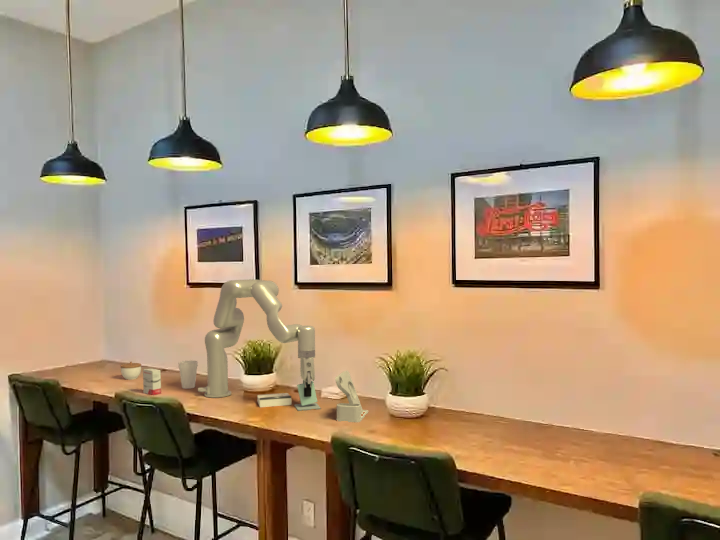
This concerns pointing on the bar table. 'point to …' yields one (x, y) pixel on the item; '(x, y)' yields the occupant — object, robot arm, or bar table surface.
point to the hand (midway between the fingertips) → (307, 395)
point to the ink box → (152, 381)
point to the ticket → (307, 399)
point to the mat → (307, 406)
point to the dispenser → (274, 400)
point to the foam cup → (188, 373)
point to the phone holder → (353, 408)
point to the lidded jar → (131, 370)
